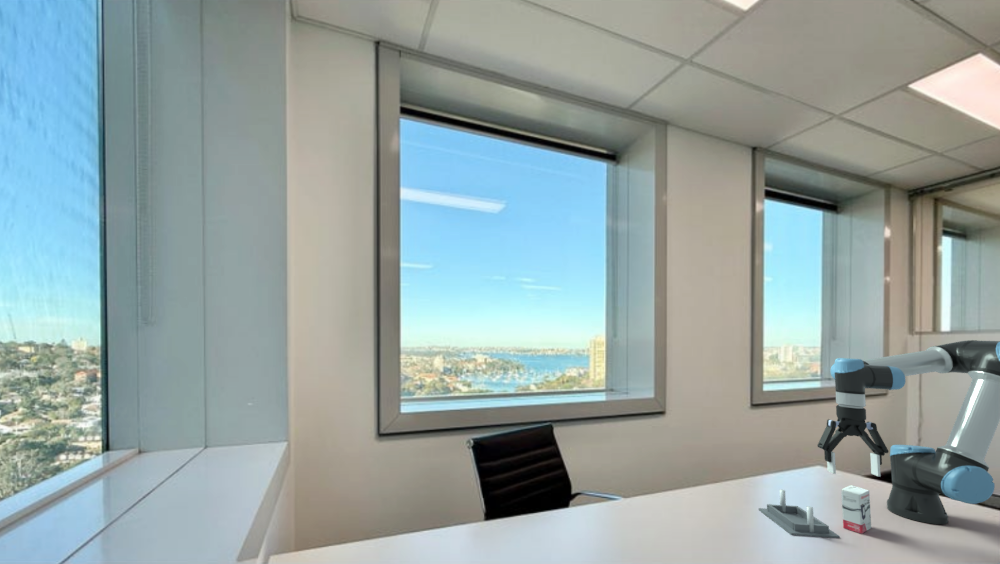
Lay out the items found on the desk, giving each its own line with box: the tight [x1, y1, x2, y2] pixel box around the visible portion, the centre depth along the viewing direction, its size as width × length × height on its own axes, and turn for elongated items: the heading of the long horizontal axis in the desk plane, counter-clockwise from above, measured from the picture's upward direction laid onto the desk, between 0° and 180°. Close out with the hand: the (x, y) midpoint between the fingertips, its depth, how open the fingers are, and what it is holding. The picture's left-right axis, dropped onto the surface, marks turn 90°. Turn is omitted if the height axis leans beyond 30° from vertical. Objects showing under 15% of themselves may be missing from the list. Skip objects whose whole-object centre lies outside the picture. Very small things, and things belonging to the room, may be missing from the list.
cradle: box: [758, 488, 841, 539], centre depth 138 cm, size 14×18×8 cm
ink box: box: [841, 485, 872, 535], centre depth 136 cm, size 8×5×12 cm, turn 123°
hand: (853, 473), depth 137 cm, fingers open, 13 cm apart
